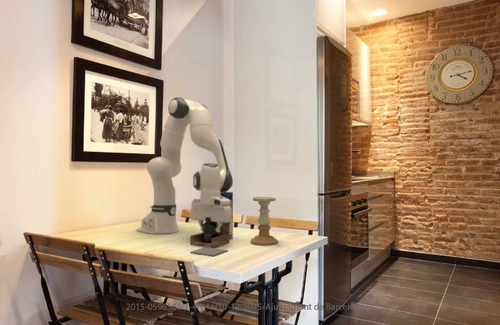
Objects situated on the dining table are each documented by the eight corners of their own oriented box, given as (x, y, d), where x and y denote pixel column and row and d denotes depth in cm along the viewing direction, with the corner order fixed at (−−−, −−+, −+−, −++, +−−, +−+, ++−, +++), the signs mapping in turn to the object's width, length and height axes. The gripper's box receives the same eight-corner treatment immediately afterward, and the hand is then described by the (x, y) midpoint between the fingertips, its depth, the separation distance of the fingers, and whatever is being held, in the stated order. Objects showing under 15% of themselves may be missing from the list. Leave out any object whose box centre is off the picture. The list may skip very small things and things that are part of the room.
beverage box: (223, 240, 167) (223, 193, 167) (206, 237, 174) (206, 192, 174) (232, 238, 172) (233, 192, 173) (215, 235, 179) (216, 191, 179)
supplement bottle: (204, 246, 155) (205, 218, 155) (200, 243, 162) (200, 216, 162) (220, 244, 158) (220, 217, 158) (215, 241, 164) (215, 215, 164)
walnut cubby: (190, 245, 157) (190, 217, 158) (207, 240, 168) (207, 214, 168) (213, 248, 151) (213, 219, 151) (229, 243, 162) (229, 216, 162)
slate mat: (190, 253, 142) (190, 251, 142) (205, 248, 151) (205, 246, 151) (213, 256, 137) (213, 255, 137) (227, 251, 146) (227, 250, 146)
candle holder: (283, 242, 163) (283, 198, 164) (264, 246, 155) (264, 199, 155) (263, 238, 172) (263, 196, 172) (244, 242, 163) (245, 197, 164)
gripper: (187, 199, 163) (187, 230, 162) (225, 201, 152) (225, 234, 152) (196, 198, 168) (196, 228, 168) (233, 200, 158) (233, 232, 158)
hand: (210, 231), depth 160 cm, fingers closed on supplement bottle, 7 cm apart
